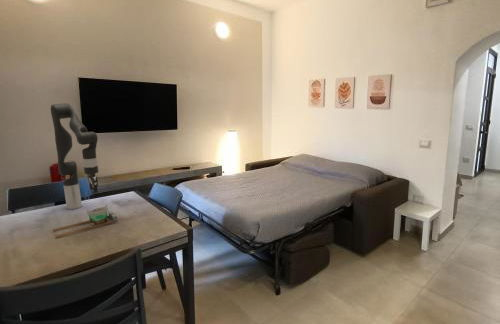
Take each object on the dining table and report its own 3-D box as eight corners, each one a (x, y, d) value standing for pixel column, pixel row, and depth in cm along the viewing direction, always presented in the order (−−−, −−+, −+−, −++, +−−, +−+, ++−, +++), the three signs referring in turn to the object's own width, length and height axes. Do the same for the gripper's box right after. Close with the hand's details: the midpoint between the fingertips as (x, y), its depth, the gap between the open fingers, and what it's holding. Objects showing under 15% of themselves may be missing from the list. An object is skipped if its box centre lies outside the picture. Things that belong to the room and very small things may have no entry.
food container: (93, 228, 169) (91, 213, 167) (88, 226, 173) (86, 210, 171) (113, 221, 179) (111, 206, 177) (108, 219, 183) (106, 204, 180)
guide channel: (53, 231, 166) (51, 225, 165) (112, 216, 187) (111, 211, 186) (55, 238, 157) (54, 231, 157) (117, 222, 178) (116, 216, 177)
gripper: (80, 164, 173) (84, 189, 176) (86, 168, 162) (89, 195, 166) (94, 162, 177) (97, 186, 181) (100, 166, 167) (103, 192, 171)
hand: (93, 190), depth 174 cm, fingers open, 8 cm apart
